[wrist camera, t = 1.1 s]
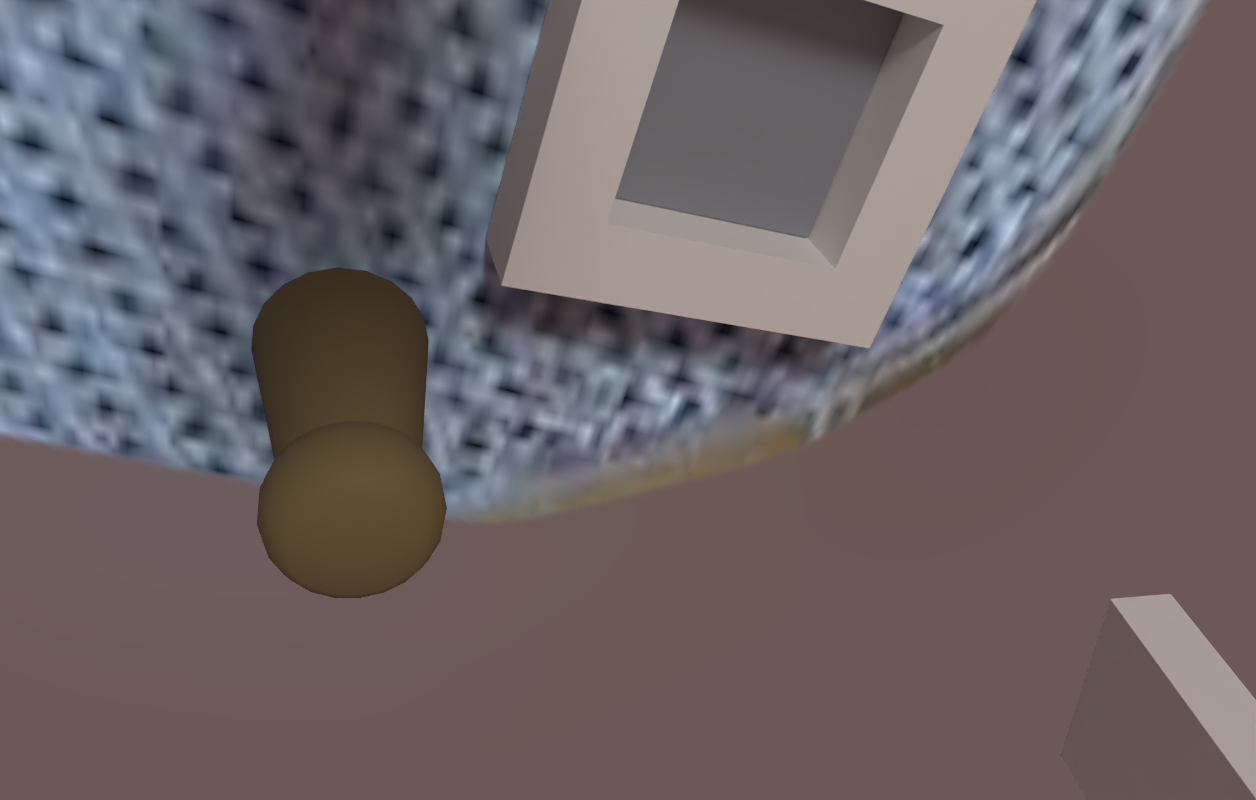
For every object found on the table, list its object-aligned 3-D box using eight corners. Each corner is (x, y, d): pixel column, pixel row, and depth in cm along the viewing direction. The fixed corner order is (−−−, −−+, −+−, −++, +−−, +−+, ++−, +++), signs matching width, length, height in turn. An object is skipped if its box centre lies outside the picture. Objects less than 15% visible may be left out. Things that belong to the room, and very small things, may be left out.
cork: (366, 440, 41) (386, 657, 32) (216, 367, 37) (193, 585, 29) (462, 322, 39) (511, 517, 30) (313, 235, 36) (320, 424, 27)
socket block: (485, 238, 37) (501, 285, 34) (604, -206, 31) (635, -192, 28) (831, 302, 42) (869, 348, 40) (997, -66, 36) (1056, -42, 33)
